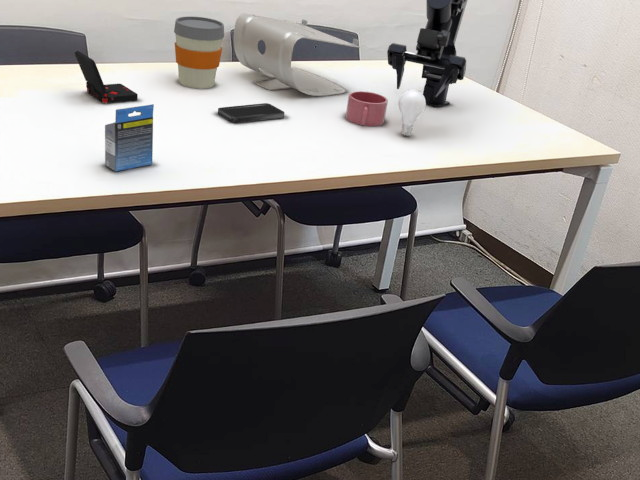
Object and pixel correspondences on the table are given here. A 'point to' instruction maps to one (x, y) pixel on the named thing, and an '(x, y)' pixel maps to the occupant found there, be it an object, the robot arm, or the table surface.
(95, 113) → the table surface
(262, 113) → the phone
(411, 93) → the lightbulb
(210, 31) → the reusable coffee cup
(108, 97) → the handheld gaming console
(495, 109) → the table surface
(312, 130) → the table surface
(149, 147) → the blue upright rectangular box
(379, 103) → the mug
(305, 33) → the beige plastic curved shell
